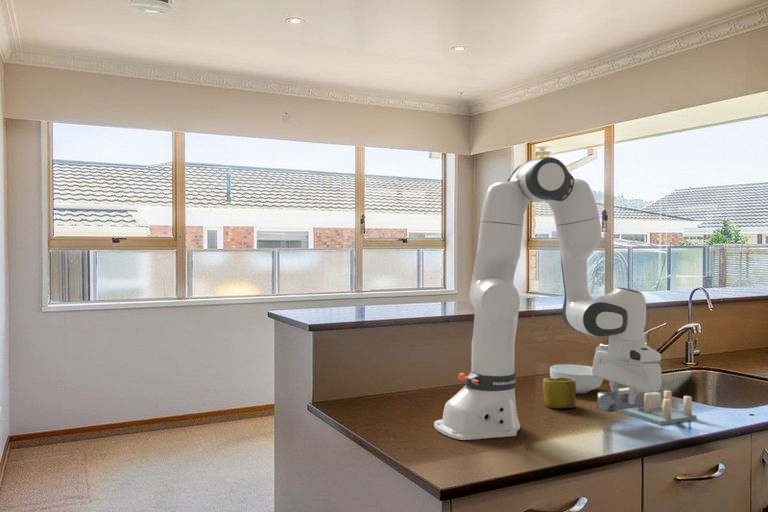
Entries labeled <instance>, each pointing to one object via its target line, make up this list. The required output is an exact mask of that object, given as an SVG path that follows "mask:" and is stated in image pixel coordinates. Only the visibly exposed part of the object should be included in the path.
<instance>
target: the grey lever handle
mask: <svg viewBox="0 0 768 512" xmlns="http://www.w3.org/2000/svg"><path fill="white" fill-rule="evenodd" d="M630 392H631V391H629V390H623V391H614V392H612V391H599V392H597V397H596V398H597V399H596V400H597V401H596V409H597V410H598V411H601V412H608V413H611V412H612V413H613V412H616V410H622V409H630V408H638V407H644V394H645V392H643V391H640V390H639V392H638V394H637V395H636V397H635V403H634V404H629V403H626V402H625V400H626V396H629V394H630Z"/></svg>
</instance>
